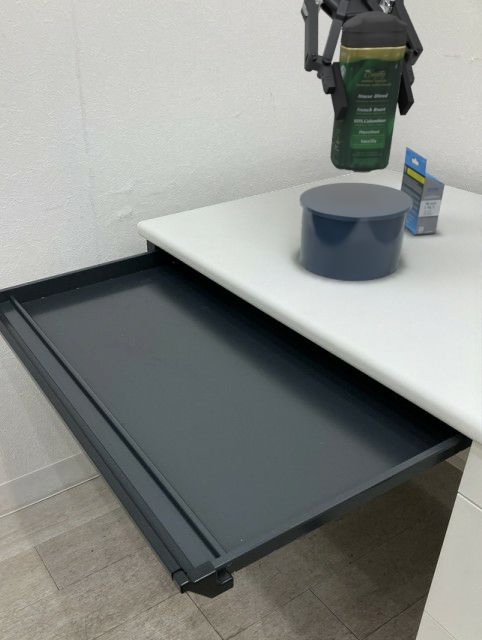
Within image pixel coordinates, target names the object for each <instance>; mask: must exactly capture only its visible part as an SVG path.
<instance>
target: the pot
mask: <svg viewBox="0 0 482 640" xmlns="http://www.w3.org/2000/svg"><path fill="white" fill-rule="evenodd" d="M298 201H299V205H300V207H301V208H302V209H301V223H300V224H301V225H300V240H299V241H300V243H299V259H298V260H299V263H300V264H301V266H302V267H303V268H304V269H305V270H307V272H308V271H309V273H312V274H314V275H317V276H320V277H323V278H327V279H331V280H336V281H337V280H338V281H345V282H346V281H348V282H361V281H362V282H363V281H373V280H378V279H383V278H385V277H387V276H389V275H391V274H394V273H395V272H396V271H397V270H398V269H399V266H400V262H401V261H400V260H401V255H402V250H403V242H404V237H405V231H406V226H405V224H406V218H407V212H408V211H409V210H410V209H411V208H412V203H413V201H412V198H411V197H410V196H409V195H408V194H406V193H405V192H403V191H401V189H398V188H395V187H392V186H387V185H382V184H375V183H365V182H335V183H327V184H322V185H317V186H314V187H311V188H308V189H306V190H305V191H303V192H301V194H300V196H299V200H298Z"/></svg>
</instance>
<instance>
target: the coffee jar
mask: <svg viewBox="0 0 482 640" xmlns="http://www.w3.org/2000/svg"><path fill="white" fill-rule="evenodd" d="M340 35H341V36H340V44H339V56H338V57H339V59H338V62H339V65H340V70H341V75H342V80H343V85H344V90H345V95H346V100H347V105H348V107H347V109H346V111H345V113H344V115H343V117H342V119H341V120H336V119H335V114H334V113H333V123H332V124H333V125H332V132H331V133H332V135H331V145H330V157H329V158H330V161H331V163H332V165H333V166H334V167H335V168H336V169H337V170H339V171H340V170H345V171H351V172H353V173H357V174H358V173H359V174H360V173H361V174H363V173H366V174H367V173H370V172H372V171H373V172H374V171H377V170H385V169H386V168H387V167H388V165H389V163H390V162H389V161H390V156H391V150H392V149H391V148H392V142H393V136H394V135H393V134H394V129H395V121H396V114H397V107H398V103H397V101H398V94H399V87H400V81H401V73H402V66H403V59H404V53H405V44H406V36H407V24H406V23H405V22H403V21H401V20H399V19H398V18H397V17H396V16H394V15H390V14H387V13H385V11H384V12H381V11H369V12H364V13H359V14H356V15H355V16H354V17H353V18H351V19H349V20H348V21H346V22H345V23H344V24H343V28H341V34H340Z"/></svg>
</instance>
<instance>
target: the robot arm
mask: <svg viewBox="0 0 482 640" xmlns="http://www.w3.org/2000/svg"><path fill="white" fill-rule="evenodd" d="M320 11H323V13H325V14H326V15H327V16H328V17H329V18H330V19H331V20H332V21H331V24H330V27H329V30H328V35H327V39H326V43H325V45H324V49H323V52H322V55H320V54H319V14H320ZM369 11H381V12H384V13H387V14H390V15H394V16H396V17H397V18H398V19H399V20H401V21H403V22H405V23H406V24H407V36H406V44H405V53H404V59H403V66H402V73H401V81H400V87H399V94H398V101H397V107H398V112H399V116H407V114H408V112H409V111H410V109H411V108H412V106H413V105H414V104H415V98H414V94H413V89H412V86H413V84H414V82H415V80H416V79H415V78H416V77H415V73H414V69H413V66H415V65H416V63H417V62H418V60H419V58H420V57H421V55H422V53H423V51H424V47H423V45H422V42H421V40H420V38H419V35H418V33H417V31H416V29H415V26H414V24H413V22H412V19H411V18H410V15H409V13H408V11H407V8H406V5H405V0H303V2H302V5H301V9H300V14H301V17H302V20H303V22H304V49H303V50H304V57H303V58H304V61H303V69H304V70H305V72H307V73H311V72H313V71H315V72H316V78H318V79H319V80H321V85H322V90H323V93H324V94H325V95H330V99H331V104H332V108H333V115H334V114H335V119H336V120H341V119H342V117H343V115H344V113H345V111H346V109H347V107H348V105H347V100H346V95H345V90H344V85H343V80H342V75H341V70H340V65H339V61H333V60H334V59H333V58H334V55H335V52H336V49H337V44H338V41H339V38H340V35H341V32H342V30H341V28H343V24H344V23H345V22H346V21H348V20H349V19H351V18H353V17H354V16H355V15H356V14H359V13H364V12H369Z"/></svg>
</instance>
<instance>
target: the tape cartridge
mask: <svg viewBox="0 0 482 640" xmlns="http://www.w3.org/2000/svg"><path fill="white" fill-rule="evenodd" d="M413 160H415V161H416V162H417V163H418V164H416V163H414V162H413ZM427 161H428V159H427V158H425V157H423V156H422V155H420V154H419V153H418V152H416V151H414V150H412V149H411V148H410V147H408V146H406V147H405V155H404V166H403V171H402V178H401V185H400V191H403V192H405V193H406V194H408V195H409V196H410V197H411V198H412V201H413V203H412V208H411V209H410V210H409V211H408V212H407V218H406V224H405V228H407V229H408V230H409V231H410V232H411V233H412V234H413V235H414V236H417V235H432V234H436V231H437V226H438V220H439V216H440V210H441V205H442V201H443V200H442V199H443V195H444V190H445V187H446V186H445V183H444V182H442V181H441V180H439V179H437V178H436V177H434V176H433V175H431V174H430V173H429V172H427Z"/></svg>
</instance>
